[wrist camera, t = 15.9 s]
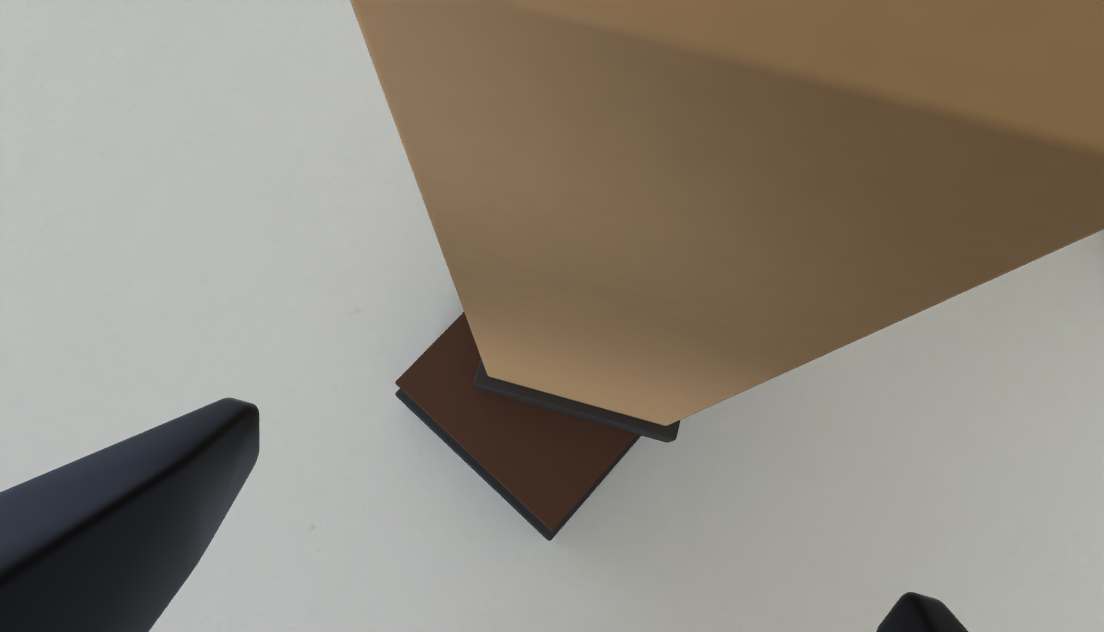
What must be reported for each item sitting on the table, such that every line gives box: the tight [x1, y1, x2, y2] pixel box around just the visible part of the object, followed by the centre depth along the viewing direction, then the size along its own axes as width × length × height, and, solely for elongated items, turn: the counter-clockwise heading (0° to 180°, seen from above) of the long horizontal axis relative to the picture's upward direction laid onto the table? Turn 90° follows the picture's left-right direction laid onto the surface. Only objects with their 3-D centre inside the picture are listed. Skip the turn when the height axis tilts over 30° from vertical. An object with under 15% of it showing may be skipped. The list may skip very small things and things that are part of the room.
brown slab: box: [395, 312, 641, 541], centre depth 21 cm, size 11×6×3 cm, turn 138°
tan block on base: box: [350, 0, 1104, 442], centre depth 12 cm, size 6×6×16 cm
